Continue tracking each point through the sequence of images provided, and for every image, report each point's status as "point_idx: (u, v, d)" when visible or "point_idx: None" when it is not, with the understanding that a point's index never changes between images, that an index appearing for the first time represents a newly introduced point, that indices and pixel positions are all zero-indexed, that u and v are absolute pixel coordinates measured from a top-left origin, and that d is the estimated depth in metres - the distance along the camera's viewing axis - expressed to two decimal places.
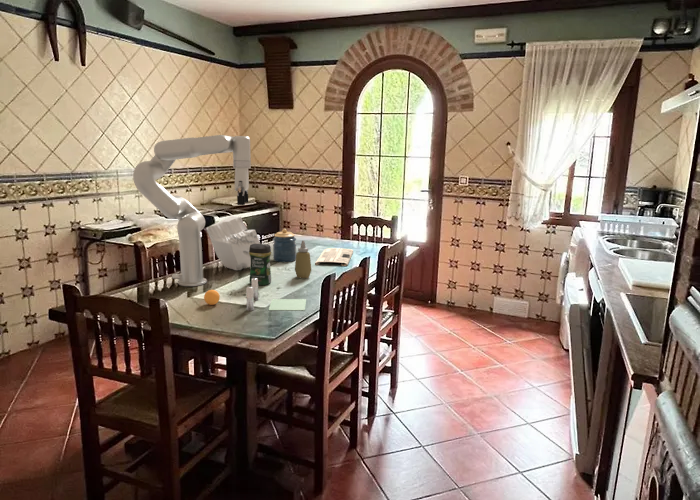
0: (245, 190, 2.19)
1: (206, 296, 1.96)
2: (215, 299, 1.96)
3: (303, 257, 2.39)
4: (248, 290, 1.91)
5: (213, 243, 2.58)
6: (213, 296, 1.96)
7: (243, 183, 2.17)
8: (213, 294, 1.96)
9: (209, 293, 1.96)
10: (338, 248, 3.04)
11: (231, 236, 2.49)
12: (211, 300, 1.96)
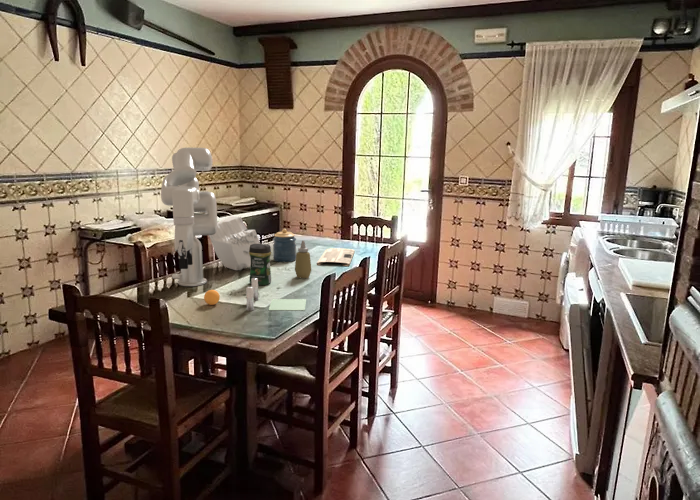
0: (187, 250, 1.91)
1: (206, 296, 1.96)
2: (215, 299, 1.96)
3: (303, 257, 2.39)
4: (248, 290, 1.91)
5: (213, 243, 2.58)
6: (213, 296, 1.96)
7: (184, 243, 1.89)
8: (213, 294, 1.96)
9: (209, 293, 1.96)
10: (339, 248, 3.04)
11: (231, 236, 2.49)
12: (211, 300, 1.96)
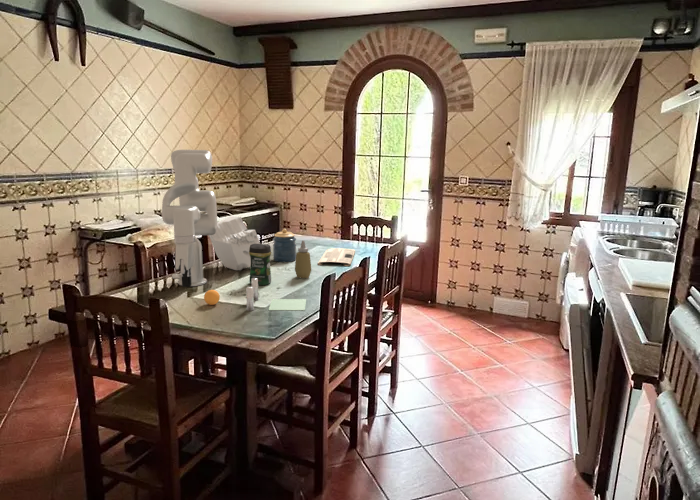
0: (188, 269, 1.91)
1: (206, 296, 1.96)
2: (215, 299, 1.96)
3: (303, 257, 2.39)
4: (248, 290, 1.91)
5: (213, 243, 2.58)
6: (213, 296, 1.96)
7: (185, 262, 1.90)
8: (213, 294, 1.96)
9: (209, 293, 1.96)
10: (340, 248, 3.04)
11: (231, 236, 2.49)
12: (211, 300, 1.96)
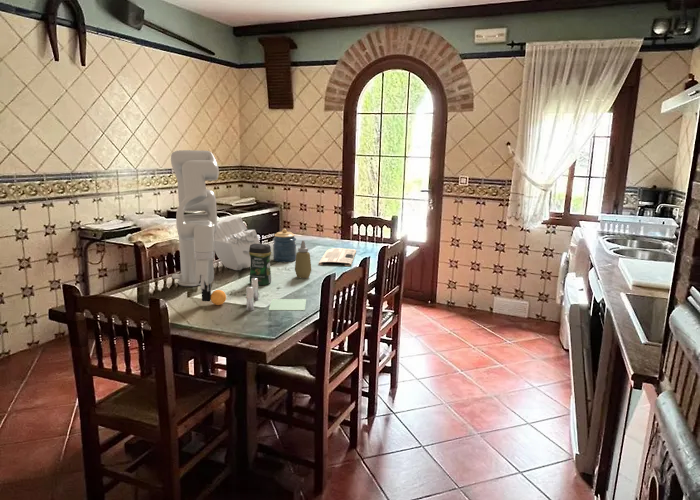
0: (207, 284, 1.93)
1: (214, 295, 1.96)
2: (221, 301, 1.96)
3: (303, 257, 2.39)
4: (248, 290, 1.91)
5: None
6: (221, 298, 1.96)
7: (205, 277, 1.91)
8: (221, 297, 1.96)
9: (219, 294, 1.96)
10: (341, 248, 3.04)
11: (231, 236, 2.49)
12: (217, 301, 1.96)
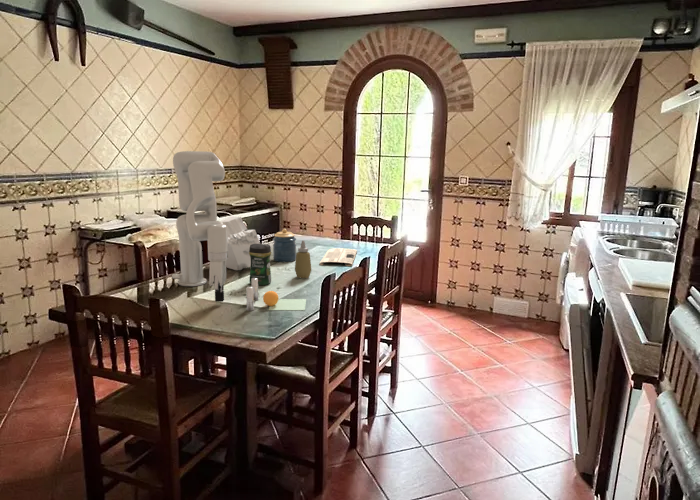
0: (221, 285, 1.94)
1: (270, 296, 1.96)
2: (271, 304, 1.97)
3: (303, 257, 2.39)
4: (248, 290, 1.91)
5: None
6: (274, 302, 1.96)
7: (219, 278, 1.92)
8: (275, 301, 1.96)
9: (274, 297, 1.96)
10: (342, 248, 3.04)
11: (231, 236, 2.49)
12: (269, 302, 1.96)
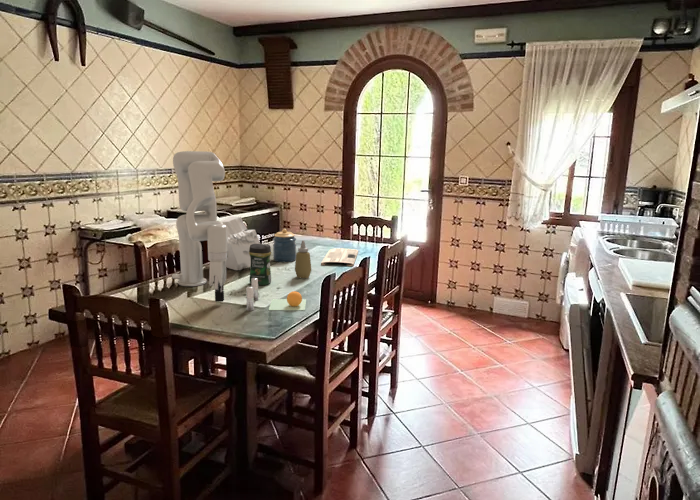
0: (221, 285, 1.94)
1: (292, 304, 1.96)
2: (291, 296, 1.96)
3: (303, 257, 2.39)
4: (248, 290, 1.91)
5: None
6: (289, 298, 1.96)
7: (219, 278, 1.92)
8: (288, 299, 1.96)
9: (289, 303, 1.97)
10: (343, 248, 3.03)
11: (231, 236, 2.49)
12: (293, 299, 1.96)
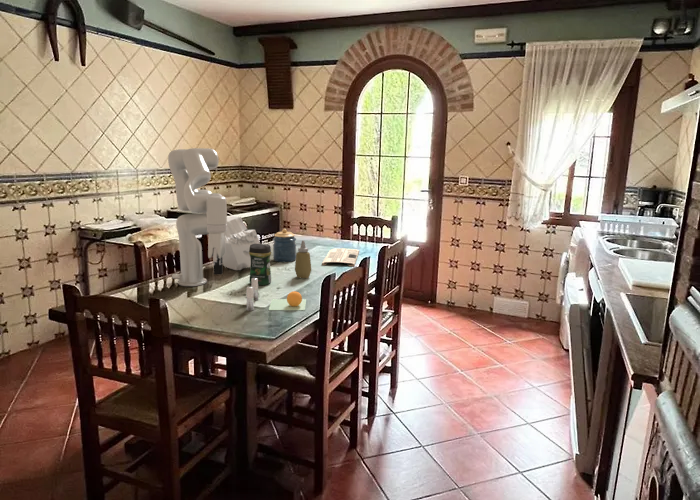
0: (220, 257, 1.92)
1: (292, 304, 1.96)
2: (291, 296, 1.96)
3: (303, 257, 2.39)
4: (248, 290, 1.91)
5: None
6: (289, 298, 1.96)
7: (218, 250, 1.90)
8: (288, 299, 1.96)
9: (289, 303, 1.97)
10: None
11: (231, 236, 2.49)
12: (293, 299, 1.96)
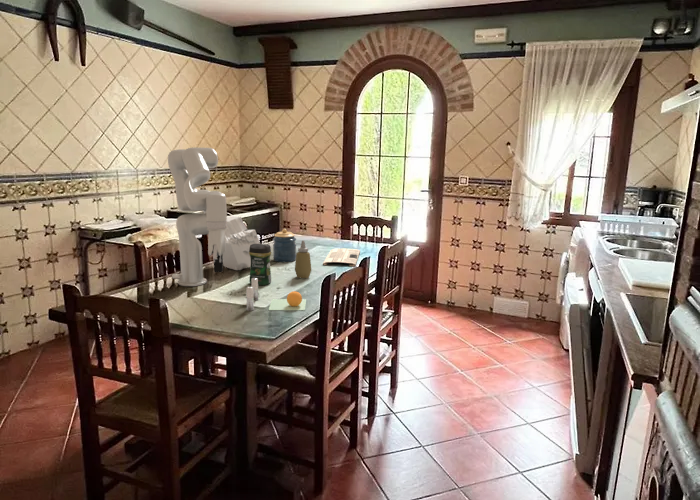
0: (220, 255, 1.92)
1: (292, 304, 1.96)
2: (291, 296, 1.96)
3: (303, 257, 2.39)
4: (248, 290, 1.91)
5: None
6: (289, 298, 1.96)
7: (218, 247, 1.90)
8: (288, 299, 1.96)
9: (289, 303, 1.97)
10: None
11: (231, 236, 2.49)
12: (293, 299, 1.96)
